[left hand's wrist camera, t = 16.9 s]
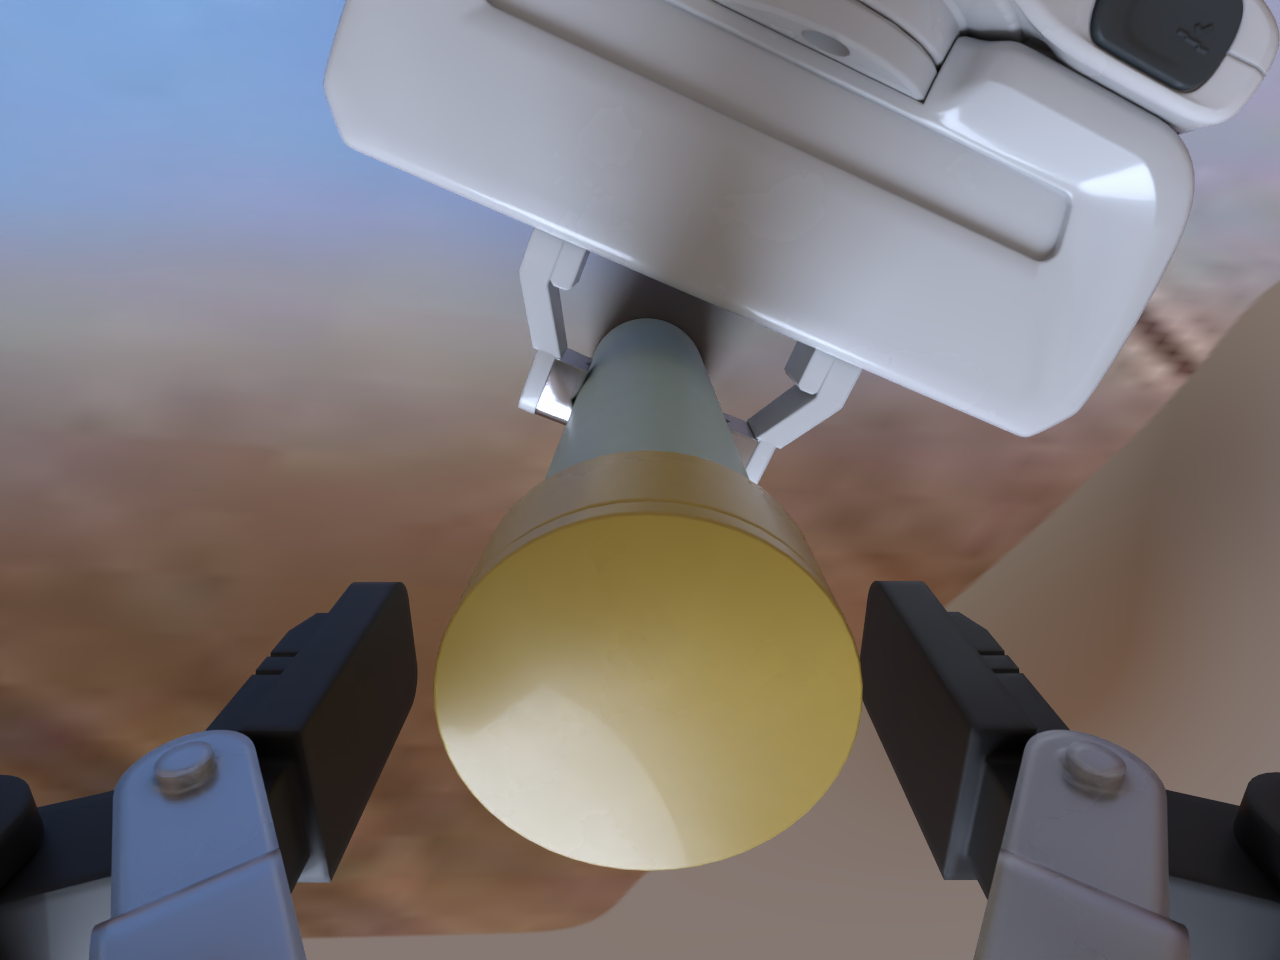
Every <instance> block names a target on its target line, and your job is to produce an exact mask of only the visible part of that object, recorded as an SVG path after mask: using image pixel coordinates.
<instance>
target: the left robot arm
mask: <svg viewBox="0 0 1280 960" xmlns="http://www.w3.org/2000/svg"><path fill="white" fill-rule="evenodd" d="M860 663H861V672H862V681H863V697H862V699H863V702H864V705H865V707H866V709H867V711H868V714H869V716H870V718H871V720H872V722H873V725H874V727H875V729H876V731H877V733H878V736H879V738H880V740H881V742H882V744H883V747H884V749H885V751H886V753H887V755H888V757H889V760H890V762H891V764H892V766H893V769H894V771H895V773H896V775H897V777H898V779H899V782H900V784H901V786H902V788H903V790H904V793H905V795H906V797H907V799H908V801H909V804H910V806H911V808H912V810H913V812H914V815H915V817H916V819H917V821H918V823H919V826H920V828H921V830H922V832H923V834H924V837H925V839H926V841H927V843H928V845H929V848H930V850H931V852H932V854H933V856H934V859H935V861H936V863H937V865H938V867H939V870H940V872H941V874H942V876H943V878H944V880H978V882H979V884H980V886H981V888H982V890H983V892H984V894H985V896H986V898H987V900H988V901H987V906H986V910H985V914H984V918H983V922H982V926H981V930H980V935H979V939H978V943H977V947H976V951H975V955H974V959H973V960H1280V773H1279V772H1274V773H1265V774H1261V775H1258V776H1256V777H1254V778H1252V780H1251V781H1250V782H1249V783H1248V786H1247V788H1246V791H1245V794H1244V797H1243V799H1242V802H1241V805H1240V806H1237V805H1233V804H1228V803H1224V802H1219V801H1215V800H1210V799H1205V798H1201V797H1196V796H1192V795H1187V794H1183V793H1178V792H1173V791H1169V790H1166V789H1165V787H1164V785H1163V783H1162V781H1161V780H1160V778H1159V777H1158V775H1157V774H1156V773H1155V772H1154V771H1153V770H1152V769H1151V768H1150V767H1149V766H1148V765H1147V764H1146V763H1145V762H1143V761H1142V760H1141V759H1140V758H1138V757H1137V756H1135V755H1134V754H1133V753H1131V752H1129V751H1128V750H1126V749H1124V748H1122V747H1121V746H1119V745H1117V744H1114V743H1112V742H1110V741H1108V740H1105V739H1102V738H1100V737H1097V736H1094V735H1090V734H1087V733H1082V732H1077V731H1070V730H1069V728H1068V727H1067V726H1066V725H1065V724H1064V722H1063V721H1062V720H1061V719H1060V718H1059V716H1058V715H1057V714H1056V713H1055V712H1054V710H1053V709H1052V708H1051V707H1050V706H1049V704H1048V703H1047V702H1046V701H1045V700H1044V698H1043V697H1042V696H1041V695H1040V694H1039V692H1038V691H1037V690H1036V689H1035V687H1034V686H1033V685H1032V684H1031V683H1030V681H1029V680H1028V679H1027V678H1026V677H1025V675H1024V674H1023V673H1019V668H1018V667H1017V666H1016V665H1015V663H1014V662H1013V661H1012V660H1011V659H1010V657H1009V656H1008V655H1005V654H1004V650H1003V649H1002V648H1001V646H1000V645H999V644H998V643H997V642H996V640H995V639H994V638H993V637H992V636H991V634H990V633H989V632H988V631H987V630H986V629H985V628H983V627H981V626H980V625H978V624H977V623H975V622H973V621H972V620H970V619H969V618H967V617H966V616H964V615H963V614H961V613H959V612H947V611H946V610H945V608H944V607H943V606H942V605H941V603H940V602H939V601H938V599H937V598H936V597H935V595H934V594H933V593H932V592H931V590H930V589H929V588H928V586H927V585H926V584H925V583H924V582H922V581H875V582H873V583H872V585H871V587H870V589H869V593H868V599H867V607H866V615H865V623H864V631H863V639H862V647H861V655H860ZM416 686H417V661H416V653H415V646H414V638H413V630H412V622H411V614H410V607H409V599H408V593H407V590H406V587H405V585H404V584H403V583H401V582H354V583H352V584H351V585H350V586H349V587H348V588H347V590H346V591H345V592H344V594H343V595H342V596H341V597H340V599H339V600H338V601H337V603H336V604H335V605H334V606H333V608H332V609H331V610H330V612H329V613H316V614H315V615H313V616H312V617H310V618H309V619H307V620H305V621H304V622H302V623H301V624H299V625H298V626H296V627H295V628H293V629H291V630H290V631H288V633H287V634H286V635H285V636H284V637H283V639H282V640H281V641H280V642H279V643H278V645H277V646H276V647H275V648H274V649H273V650H272V652H271V656H270V657H267V658H266V659H265V660H264V661H263V662H262V664H261V665H260V666H259V667H258V668H257V670H256V674H255V675H252V676H251V677H250V678H249V679H248V680H247V682H246V683H245V684H244V685H243V686H242V688H241V689H240V690H239V691H238V692H237V693H236V695H235V696H234V697H233V698H232V699H231V701H230V702H229V703H228V704H227V705H226V707H225V708H224V709H223V710H222V711H221V713H220V714H219V715H218V716H217V717H216V719H215V720H214V721H213V722H212V723H211V725H210V726H209V727H208V728H207V729H206V731H203V732H198V733H193V734H190V735H186V736H183V737H180V738H177V739H175V740H172V741H170V742H168V743H166V744H163V745H161V746H159V747H158V748H156V749H154V750H152V751H151V752H149V753H147V754H146V755H145V756H143V757H142V758H140V759H139V760H138V761H136V762H135V763H134V764H133V765H132V766H131V767H130V768H129V769H128V770H127V771H126V772H125V773H124V774H123V775H122V777H121V778H120V780H119V781H118V783H117V785H116V787H115V789H114V790H113V791H109V792H105V793H101V794H97V795H92V796H88V797H83V798H78V799H74V800H69V801H65V802H60V803H56V804H51V805H47V806H42V807H37V806H36V804H35V801H34V798H33V796H32V793H31V790H30V788H29V785H28V784H27V783H26V782H25V781H24V780H22V779H20V778H18V777H14V776H10V775H0V960H306V955H305V951H304V947H303V943H302V939H301V935H300V930H299V926H298V922H297V918H296V914H295V910H294V906H293V901H292V897H291V893H292V891H293V889H294V887H295V885H296V883H297V882H331V880H332V878H333V876H334V874H335V871H336V869H337V867H338V865H339V863H340V861H341V858H342V856H343V854H344V852H345V850H346V848H347V845H348V843H349V841H350V839H351V837H352V835H353V832H354V830H355V828H356V826H357V824H358V822H359V819H360V817H361V815H362V813H363V811H364V809H365V806H366V804H367V802H368V800H369V798H370V796H371V793H372V791H373V789H374V787H375V785H376V783H377V780H378V778H379V776H380V774H381V772H382V770H383V767H384V765H385V763H386V761H387V759H388V757H389V754H390V752H391V750H392V748H393V746H394V744H395V741H396V739H397V737H398V735H399V733H400V731H401V728H402V726H403V724H404V722H405V720H406V718H407V715H408V713H409V711H410V709H411V707H412V704H413V701H414V697H415V693H416Z"/></svg>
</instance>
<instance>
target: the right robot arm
mask: <svg viewBox="0 0 1280 960" xmlns="http://www.w3.org/2000/svg"><path fill="white" fill-rule="evenodd" d="M1278 47H1279V30H1278V26H1277V23H1276V20H1275V18H1274V16H1273V14H1272V12H1271V10H1270V9H1269V7H1268V6H1267V5H1266V3H1265V2H1264V0H346V1H345V4H344V7H343V10H342V13H341V16H340V20H339V23H338V26H337V29H336V33H335V36H334V40H333V43H332V46H331V50H330V53H329V57H328V61H327V65H326V69H325V74H324V81H323V87H324V94H325V98H326V100H327V103H328V106H329V108H330V111H331V114H332V116H333V119H334V122H335V124H336V127H337V129H338V131H339V134H340V136H341V138H342V140H343V141H344V143H345V144H346V145H347V146H349V147H350V148H352V149H354V150H356V151H358V152H361V153H363V154H365V155H367V156H370V157H372V158H374V159H377V160H379V161H381V162H384V163H386V164H388V165H391V166H393V167H395V168H398V169H400V170H402V171H404V172H407V173H409V174H411V175H414V176H416V177H418V178H421V179H423V180H425V181H428V182H430V183H432V184H435V185H437V186H439V187H442V188H444V189H446V190H449V191H451V192H453V193H456V194H458V195H460V196H463V197H465V198H467V199H469V200H472V201H474V202H476V203H479V204H481V205H483V206H486V207H488V208H490V209H493V210H495V211H497V212H500V213H502V214H504V215H507V216H509V217H511V218H514V219H516V220H518V221H521V222H523V223H525V224H528V225H530V226H532V227H534V228H533V231H532V234H531V237H530V240H529V243H528V246H527V249H526V252H525V255H524V258H523V260H522V263H521V266H520V269H519V276H520V282H521V287H522V292H523V297H524V303H525V308H526V313H527V318H528V324H529V329H530V334H531V339H532V345H533V348H535V349H537V352H536V355H535V358H534V361H533V363H532V366H531V369H530V372H529V374H528V377H527V380H526V383H525V385H524V388H523V391H522V394H521V396H520V399H519V403H518V407H519V408H521V409H524V410H526V411H528V412H530V413H532V414H537V415H539V416H542V417H545V418H547V419H550V420H552V421H555V422H558V423H560V424H563V425H566V424H567V421H568V418H569V416H570V413H571V411H572V408H573V405H574V403H575V400H576V398H577V395H578V394H579V392H580V390H581V388H582V386H583V384H584V381H585V379H586V376H587V374H588V371H589V368H590V366H591V363H592V360H593V359H592V358H589V357H587V356H585V355H582V354H580V353H578V352H576V351H573V350H571V349H569V348H567V347H568V346H567V340H566V333H565V327H564V320H563V313H562V307H561V300H560V293H559V288H560V289H563V290H565V291H567V290H569V289H571V288H572V287H573V286H574V285H575V284H576V283H578V282H579V279H580V277H581V274H582V271H583V269H584V266H585V264H586V261H587V258H588V256H589V253H590V252H593V253H595V254H597V255H599V256H602V257H604V258H606V259H609V260H611V261H613V262H616V263H618V264H620V265H623V266H625V267H627V268H630V269H632V270H634V271H637V272H639V273H641V274H644V275H646V276H648V277H651V278H653V279H655V280H658V281H660V282H662V283H664V284H667V285H669V286H671V287H674V288H676V289H678V290H681V291H683V292H685V293H688V294H690V295H692V296H695V297H697V298H699V299H702V300H704V301H706V302H709V303H711V304H713V305H716V306H718V307H720V308H723V309H725V310H727V311H729V312H732V313H734V314H736V315H739V316H741V317H743V318H746V319H748V320H750V321H753V322H755V323H757V324H760V325H762V326H764V327H767V328H769V329H771V330H774V331H776V332H778V333H781V334H783V335H785V336H788V337H790V338H792V339H794V340H797V343H796V345H795V347H794V349H793V351H792V354H791V356H790V358H789V360H788V362H787V364H786V366H785V368H784V369H785V372H786V374H787V375H788V376H789V377H790V378H791V380H792V381H793V382H794V383H795V385H794V386H793V387H791V388H790V389H789V390H787V391H786V392H785V393H783V394H782V395H780V396H779V397H778V398H776V399H775V400H774V401H772V402H771V403H770V404H768V405H767V406H766V407H764V408H763V409H762V410H760V411H759V412H758V413H756V414H755V415H754V416H752V417H751V418H750V419H748V420H747V421H748V422H746V421H744V420H741V419H738V418H736V417H733V416H731V415H728V414H725V413H723V414H724V417H725V419H726V422H727V424H728V427H729V429H730V432H731V434H732V437H733V439H734V442H735V444H736V447H737V449H738V452H739V455H740V457H741V460H742V462H743V465H744V467H745V470H746V472H747V475H748V477H749V480H751V481H752V482H754V483H755V484H758V482H759V480H760V479H761V477H762V475H763V473H764V471H765V469H766V467H767V465H768V463H769V461H770V459H771V457H772V455H773V453H774V451H775V449H776V447H777V448H780V449H781V448H782V447H784V446H785V445H787V444H789V443H790V442H792V441H793V440H795V439H796V438H798V437H799V436H801V435H802V434H804V433H805V432H807V431H808V430H810V429H811V428H813V427H814V426H816V425H817V424H819V423H821V422H822V421H824V420H825V419H827V418H828V417H830V416H831V415H833V414H834V413H836V412H837V411H839V410H840V409H842V407H843V405H844V403H845V402H846V400H847V398H848V396H849V394H850V392H851V390H852V388H853V387H854V385H855V383H856V381H857V379H858V377H859V375H860V373H861V372H862V370H863V369H864V370H866V371H869V372H871V373H873V374H876V375H878V376H880V377H883V378H885V379H887V380H890V381H892V382H894V383H897V384H899V385H901V386H904V387H906V388H908V389H911V390H913V391H915V392H918V393H920V394H922V395H924V396H927V397H929V398H931V399H934V400H936V401H938V402H941V403H943V404H945V405H948V406H950V407H952V408H955V409H957V410H959V411H962V412H964V413H966V414H969V415H971V416H973V417H976V418H978V419H980V420H983V421H985V422H987V423H989V424H992V425H994V426H997V427H999V428H1001V429H1004V430H1006V431H1008V432H1011V433H1013V434H1015V435H1018V436H1021V437H1030V436H1033V435H1035V434H1038V433H1040V432H1042V431H1044V430H1046V429H1048V428H1051V427H1053V426H1055V425H1056V424H1058V423H1060V422H1062V421H1064V420H1066V419H1068V418H1070V417H1072V416H1073V415H1074V414H1075V413H1077V412H1078V411H1079V410H1080V408H1081V407H1082V406H1083V405H1084V404H1085V403H1086V402H1087V400H1088V399H1089V397H1090V396H1091V395H1092V393H1093V392H1094V390H1095V389H1096V388H1097V386H1098V385H1099V383H1100V382H1101V380H1102V379H1103V377H1104V376H1105V374H1106V372H1107V371H1108V369H1109V368H1110V366H1111V365H1112V363H1113V361H1114V360H1115V358H1116V357H1117V355H1118V354H1119V352H1120V350H1121V348H1122V347H1123V345H1124V343H1125V342H1126V340H1127V338H1128V337H1129V335H1130V333H1131V332H1132V330H1133V328H1134V327H1135V325H1136V323H1137V321H1138V320H1139V318H1140V316H1141V314H1142V313H1143V311H1144V309H1145V307H1146V305H1147V304H1148V302H1149V300H1150V298H1151V297H1152V295H1153V293H1154V291H1155V289H1156V287H1157V285H1158V283H1159V282H1160V280H1161V278H1162V276H1163V274H1164V272H1165V270H1166V268H1167V266H1168V264H1169V262H1170V260H1171V258H1172V256H1173V254H1174V252H1175V250H1176V248H1177V246H1178V244H1179V242H1180V239H1181V237H1182V234H1183V232H1184V230H1185V227H1186V224H1187V221H1188V218H1189V215H1190V211H1191V207H1192V202H1193V196H1194V183H1195V180H1194V169H1193V163H1192V160H1191V157H1190V154H1189V151H1188V149H1187V147H1186V145H1185V144H1184V142H1183V141H1182V139H1181V138H1180V137H1179V134H1183V133H1187V132H1191V131H1195V130H1198V129H1202V128H1206V127H1209V126H1213V125H1216V124H1219V123H1222V122H1225V121H1227V120H1228V119H1230V118H1232V117H1233V116H1234V115H1235V114H1236V113H1238V112H1239V111H1240V110H1241V109H1242V108H1243V107H1244V105H1245V104H1246V103H1247V102H1248V100H1249V99H1250V98H1251V97H1252V95H1253V94H1254V93H1255V91H1256V90H1257V88H1258V87H1259V85H1260V84H1261V82H1262V81H1263V79H1264V77H1265V76H1266V74H1267V72H1268V71H1269V69H1270V67H1271V65H1272V63H1273V61H1274V59H1275V56H1276V53H1277V51H1278Z"/></svg>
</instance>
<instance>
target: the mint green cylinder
mask: <svg viewBox="0 0 1280 960" xmlns="http://www.w3.org/2000/svg"><path fill="white" fill-rule="evenodd" d="M592 359H593V360H592V363H591V366H590V368H589V371H588V374H587V376H586V379H585V381H584V384H583V386H582V388H581V390H580V392H579V394H578V395H577V398H576V400H575V403H574V405H573V408H572V411H571V413H570V416H569V418H568V421H567V424H566V426H565V429H564V431H563V434H562V436H561V439H560V442H559V444H558V447H557V449H556V452H555V455H554V457H553V460H552V462H551V465H550V467H549V470H548V473H547V475H546V478H545V480H546V479H547V478H549V477H551V476H552V475H554V474H555V473H558V472H560V471H562V470H564V469H566V468H568V467H570V466H572V465H574V464H577V463H580V462H583V461H586V460H589V459H592V458H595V457H598V456H603V455H609V454H614V453H619V452H628V451H644V450H651V451H667V452H676V453H681V454H686V455H692V456H697V457H700V458H703V459H706V460H709V461H712V462H715V463H718V464H721V465H723V466H725V467H727V468H729V469H731V470H733V471H735V472H737V473H740V474H741V475H743V476H745V477H746V478H748V479H749V477H748V475H747V472H746V470H745V467H744V465H743V462H742V460H741V457H740V455H739V452H738V449H737V447H736V444H735V442H734V439H733V437H732V434H731V432H730V429H729V427H728V424H727V422H726V419H725V417H724V414H723V412H722V409H721V407H720V404H719V401H718V399H717V396H716V394H715V391H714V389H713V386H712V384H711V381H710V379H709V376H708V374H707V371H706V369H705V366H704V364H703V361H702V358H701V356H700V354H699V351H698V349H697V347H696V346H695V344H694V342H693V341H692V340H691V339H690V337H689V336H688V335H687V334H686V333H685V332H683V331H682V330H681V329H679V328H678V327H676V326H674V325H673V324H671V323H668V322H666V321H663V320H658V319H651V318H641V319H635V320H631V321H628V322H625V323H623V324H621V325H619V326H617V327H615V328H614V329H612V330H611V331H610V332H609V333H608V334H606V335H605V337H604V338H603V339H602V340H601V341H600V343H599V344H598V346H597V348H596V350H595V351H594V354H593V356H592Z"/></svg>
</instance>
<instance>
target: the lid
mask: <svg viewBox="0 0 1280 960" xmlns="http://www.w3.org/2000/svg"><path fill="white" fill-rule="evenodd" d="M433 687H434V708H435V713H436V718H437V723H438V728H439V733H440V735H441V738H442V741H443V744H444V747H445V749H446V752H447V755H448V756H449V758H450V760H451V762H452V764H453V766H454V768H455V770H456V771H457V773H458V775H459V776H460V778H461V779H462V780H463V782H464V783H465V785H466V786H467V787H468V789H469V790H470V791H471V793H472V794H473V795H474V796H475V797H476V798H477V799H478V800H479V801H480V803H481V804H482V805H483V806H484V807H485V808H486V809H487V810H488V811H489V812H490V813H492V814H493V815H494V816H495V817H496V818H498V819H499V820H500V821H501V822H502V823H504V824H505V825H506V826H507V827H509V828H510V829H512V830H514V831H515V832H517V833H518V834H520V835H521V836H523V837H524V838H526V839H527V840H529V841H531V842H533V843H535V844H537V845H539V846H541V847H543V848H545V849H547V850H549V851H552V852H555V853H558V854H560V855H563V856H566V857H568V858H571V859H574V860H578V861H582V862H586V863H589V864H593V865H597V866H604V867H610V868H616V869H625V870H643V871H653V870H673V869H680V868H687V867H694V866H699V865H704V864H708V863H711V862H716V861H720V860H723V859H726V858H729V857H732V856H734V855H737V854H740V853H743V852H745V851H747V850H749V849H751V848H753V847H756V846H758V845H760V844H762V843H764V842H766V841H768V840H769V839H771V838H773V837H774V836H776V835H777V834H779V833H780V832H782V831H784V830H785V829H787V828H788V827H790V826H791V825H792V824H793V823H795V822H796V821H797V820H798V819H799V818H801V817H802V816H803V815H804V814H806V813H807V812H808V811H809V810H810V809H811V808H812V807H813V806H814V805H815V804H816V802H817V801H818V800H819V799H820V798H821V797H822V796H823V795H824V794H825V793H826V791H827V790H828V788H829V787H830V786H831V784H832V783H833V782H834V780H835V779H836V778H837V776H838V775H839V773H840V771H841V769H842V767H843V765H844V763H845V762H846V760H847V758H848V756H849V754H850V751H851V748H852V746H853V743H854V740H855V737H856V735H857V731H858V726H859V721H860V716H861V711H862V697H863V681H862V672H861V663H860V659H859V655H858V651H857V648H856V644H855V641H854V637H853V635H852V633H851V631H850V629H849V626H848V624H847V622H846V620H845V618H844V616H843V613H842V611H841V609H840V607H839V605H838V603H837V602H836V599H835V597H834V595H833V593H832V591H831V589H830V587H829V585H828V583H827V581H826V579H825V577H824V575H823V573H822V571H821V569H820V567H819V565H818V563H817V561H816V559H815V557H814V555H813V553H812V551H811V549H810V547H809V545H808V543H807V541H806V539H805V537H804V535H803V534H802V532H801V531H800V529H799V528H798V526H797V525H796V523H795V522H794V520H793V518H792V517H791V516H790V515H789V514H788V513H787V512H786V510H785V509H784V508H783V507H782V506H781V505H780V504H779V503H778V501H776V500H775V499H774V498H773V497H772V496H771V495H769V494H768V493H767V492H766V491H765V490H764V489H762V488H761V487H760V486H758V485H757V484H755V483H754V482H752V481H751V480H749V479H748V478H746V477H745V476H743V475H741V474H740V473H737V472H735V471H733V470H731V469H729V468H727V467H725V466H723V465H721V464H718V463H715V462H712V461H709V460H706V459H703V458H700V457H697V456H692V455H686V454H681V453H676V452H667V451H651V450H644V451H628V452H619V453H614V454H609V455H603V456H598V457H595V458H592V459H589V460H586V461H583V462H580V463H577V464H574V465H572V466H570V467H568V468H566V469H564V470H562V471H560V472H558V473H555V474H554V475H552V476H551V477H549V478H547V479H546V480H544V481H543V482H541V483H540V484H538V485H537V486H535V487H534V488H533V489H532V490H530V491H529V492H528V493H527V494H526V495H525V496H523V497H522V498H521V499H520V500H519V501H518V502H517V503H516V504H515V505H514V506H513V507H512V508H511V510H510V511H509V512H508V513H507V514H506V515H505V516H504V518H503V519H502V520H501V522H500V523H499V525H498V526H497V528H496V530H495V531H494V533H493V534H492V536H491V537H490V540H489V542H488V544H487V546H486V548H485V550H484V552H483V554H482V556H481V558H480V560H479V562H478V564H477V566H476V568H475V570H474V572H473V574H472V577H471V579H470V581H469V583H468V585H467V587H466V589H465V591H464V593H463V595H462V597H461V599H460V601H459V603H458V605H457V607H456V609H455V611H454V614H453V616H452V618H451V620H450V622H449V624H448V627H447V629H446V631H445V633H444V635H443V638H442V641H441V645H440V648H439V652H438V656H437V659H436V666H435V675H434V683H433Z"/></svg>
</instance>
